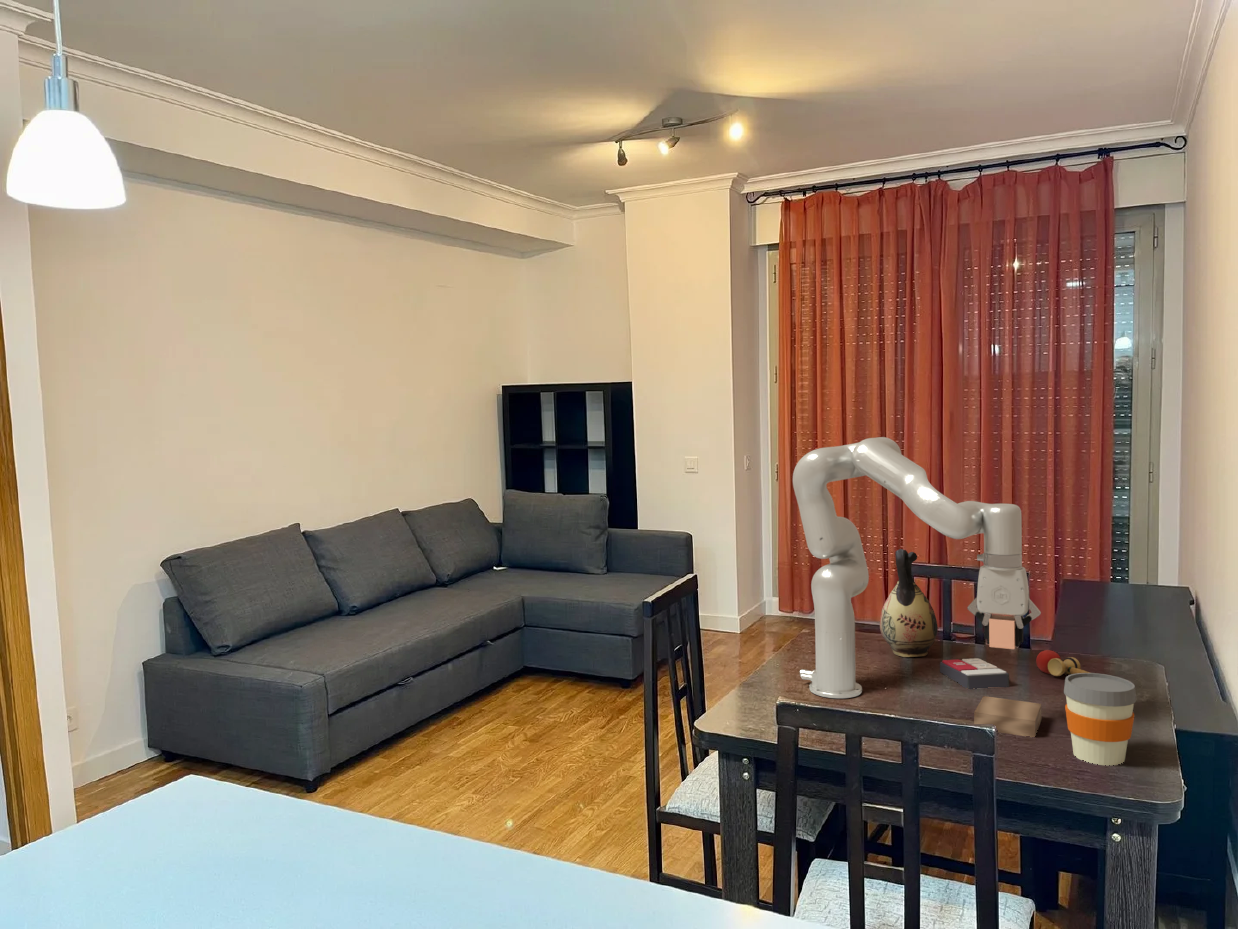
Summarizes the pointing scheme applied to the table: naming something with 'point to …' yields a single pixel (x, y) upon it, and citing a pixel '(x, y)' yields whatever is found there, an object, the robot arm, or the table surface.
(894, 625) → the ceramic jug
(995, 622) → the block
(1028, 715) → the base
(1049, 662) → the kendama
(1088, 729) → the reusable coffee cup
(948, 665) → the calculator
